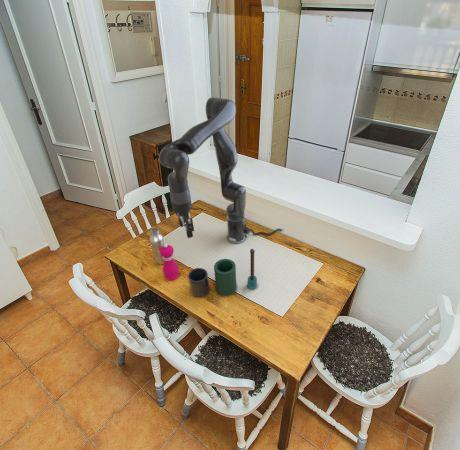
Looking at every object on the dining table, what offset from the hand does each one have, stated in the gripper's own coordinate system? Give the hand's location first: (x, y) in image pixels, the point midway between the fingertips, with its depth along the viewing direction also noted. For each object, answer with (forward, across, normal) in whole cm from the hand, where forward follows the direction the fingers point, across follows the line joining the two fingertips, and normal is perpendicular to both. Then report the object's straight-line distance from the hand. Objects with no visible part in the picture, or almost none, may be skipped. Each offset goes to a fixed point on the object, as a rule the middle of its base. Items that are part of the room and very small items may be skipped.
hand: (186, 231), depth 131 cm
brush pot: (+29, -7, 0) cm, 30 cm away
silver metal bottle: (+29, +20, +10) cm, 37 cm away
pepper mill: (+29, +8, +8) cm, 32 cm away
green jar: (+29, -12, -11) cm, 33 cm away
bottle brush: (+29, -17, -22) cm, 40 cm away
